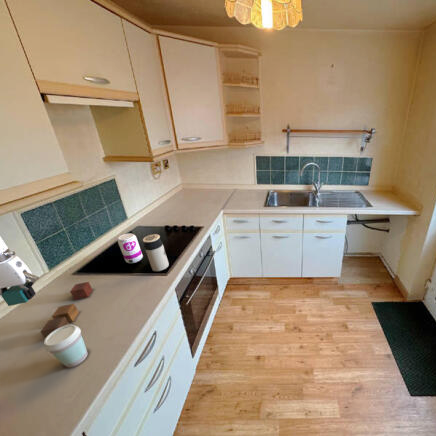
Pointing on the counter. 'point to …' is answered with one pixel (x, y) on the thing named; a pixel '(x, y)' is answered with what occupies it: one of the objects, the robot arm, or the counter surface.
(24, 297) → the teal block
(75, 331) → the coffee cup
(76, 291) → the dark cherry block
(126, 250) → the supplement can
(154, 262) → the travel mug
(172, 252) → the counter surface
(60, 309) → the oak block
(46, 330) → the walnut block
